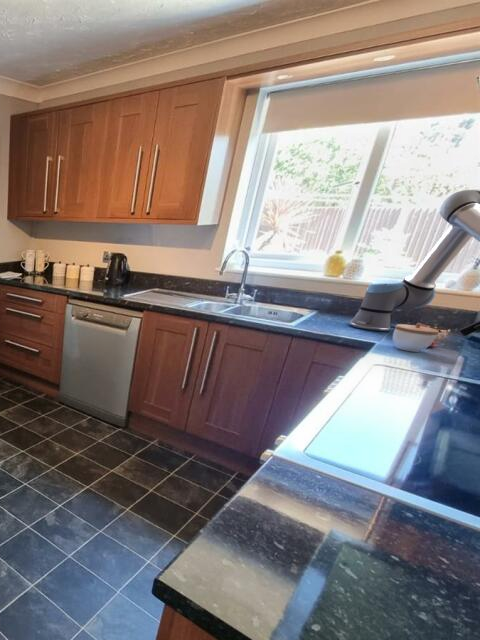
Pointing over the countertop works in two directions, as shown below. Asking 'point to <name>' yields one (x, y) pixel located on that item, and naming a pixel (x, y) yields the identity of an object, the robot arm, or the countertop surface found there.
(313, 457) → the countertop surface
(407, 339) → the lidded bowl
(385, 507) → the countertop surface
